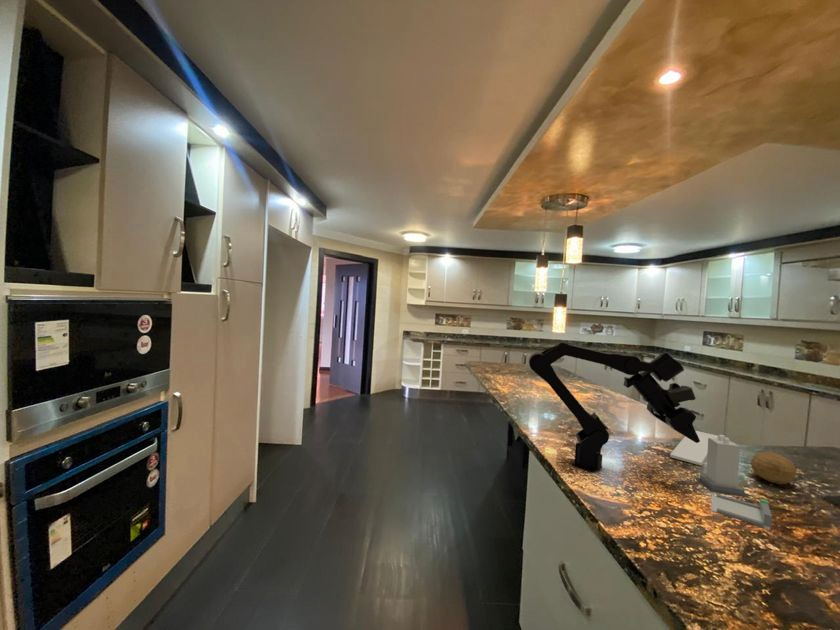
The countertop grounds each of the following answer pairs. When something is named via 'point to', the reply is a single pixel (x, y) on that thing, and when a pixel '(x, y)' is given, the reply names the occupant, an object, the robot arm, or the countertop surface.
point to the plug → (722, 466)
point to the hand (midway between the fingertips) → (690, 436)
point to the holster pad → (718, 491)
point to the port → (743, 510)
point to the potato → (773, 467)
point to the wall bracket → (693, 449)
